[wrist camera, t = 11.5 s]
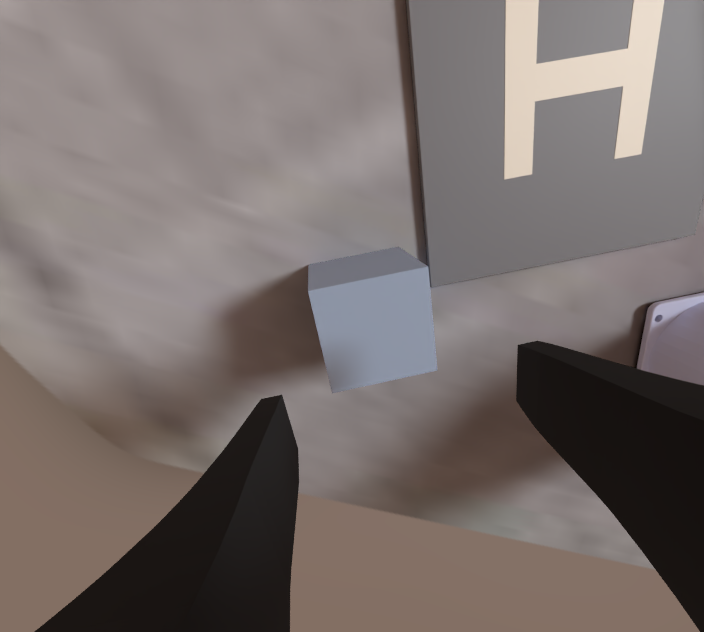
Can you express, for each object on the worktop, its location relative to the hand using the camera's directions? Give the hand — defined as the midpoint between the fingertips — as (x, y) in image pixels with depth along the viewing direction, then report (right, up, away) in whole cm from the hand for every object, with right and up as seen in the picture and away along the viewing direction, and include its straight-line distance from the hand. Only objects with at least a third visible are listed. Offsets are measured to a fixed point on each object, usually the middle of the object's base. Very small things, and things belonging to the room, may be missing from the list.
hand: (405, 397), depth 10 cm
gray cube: (-1, +4, +9) cm, 10 cm away
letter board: (+9, +14, +6) cm, 18 cm away
